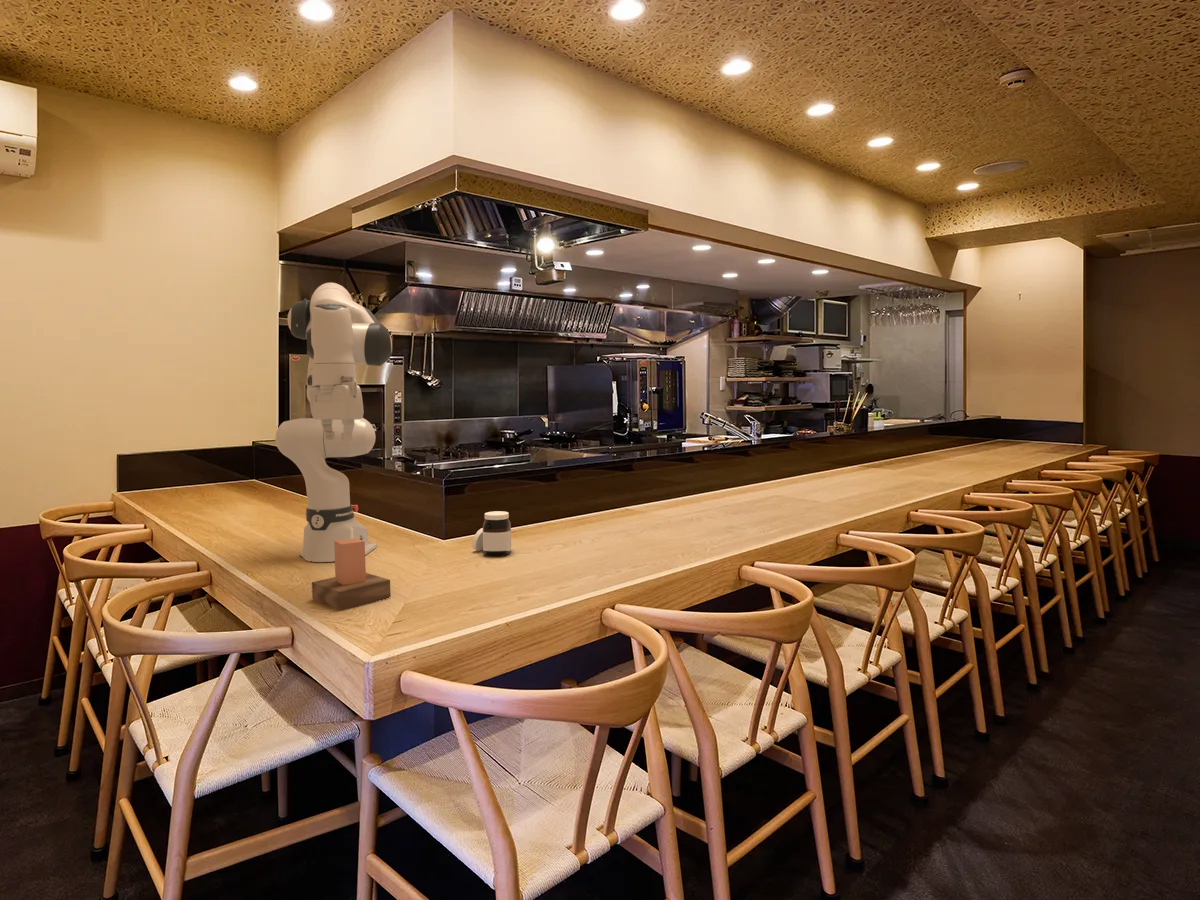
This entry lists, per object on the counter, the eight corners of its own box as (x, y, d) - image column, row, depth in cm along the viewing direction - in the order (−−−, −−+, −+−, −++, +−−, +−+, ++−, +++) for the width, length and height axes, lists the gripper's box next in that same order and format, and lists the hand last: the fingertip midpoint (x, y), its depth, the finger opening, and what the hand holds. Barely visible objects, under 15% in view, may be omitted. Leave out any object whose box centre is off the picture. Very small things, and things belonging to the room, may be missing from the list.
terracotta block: (335, 580, 154) (334, 540, 153) (357, 576, 157) (356, 537, 156) (343, 585, 150) (341, 544, 149) (365, 581, 153) (364, 541, 152)
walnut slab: (312, 602, 153) (311, 582, 153) (361, 590, 162) (361, 571, 162) (340, 612, 145) (339, 592, 145) (390, 599, 155) (390, 579, 154)
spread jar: (508, 557, 192) (507, 516, 191) (467, 557, 192) (466, 516, 191) (514, 548, 204) (513, 509, 203) (476, 548, 204) (475, 509, 203)
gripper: (369, 375, 147) (372, 440, 148) (330, 379, 162) (333, 438, 163) (340, 375, 143) (343, 442, 144) (303, 379, 158) (306, 439, 159)
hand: (338, 440), depth 153 cm, fingers open, 8 cm apart
